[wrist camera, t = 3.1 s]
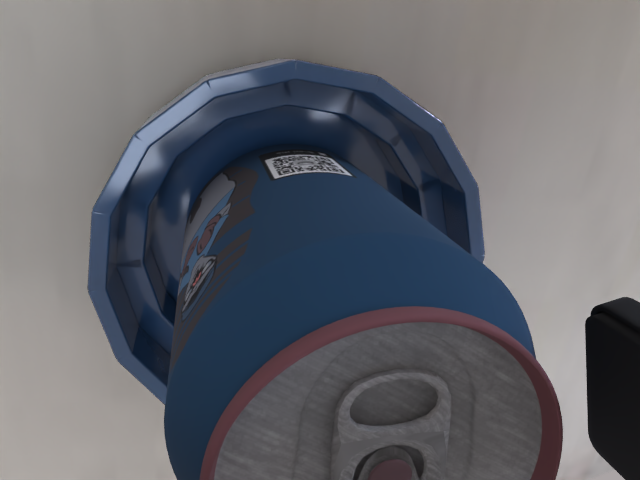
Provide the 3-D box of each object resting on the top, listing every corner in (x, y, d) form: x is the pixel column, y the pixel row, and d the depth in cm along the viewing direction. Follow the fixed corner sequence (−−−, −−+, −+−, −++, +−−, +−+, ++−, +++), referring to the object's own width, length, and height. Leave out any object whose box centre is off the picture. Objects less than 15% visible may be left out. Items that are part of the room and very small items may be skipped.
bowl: (410, 27, 18) (463, 20, 14) (448, 321, 22) (497, 375, 18) (58, 107, 16) (16, 122, 13) (173, 404, 21) (166, 479, 17)
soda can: (370, 312, 21) (558, 608, 10) (191, 326, 19) (171, 688, 8) (381, 137, 18) (643, 260, 7) (178, 138, 17) (128, 291, 6)
